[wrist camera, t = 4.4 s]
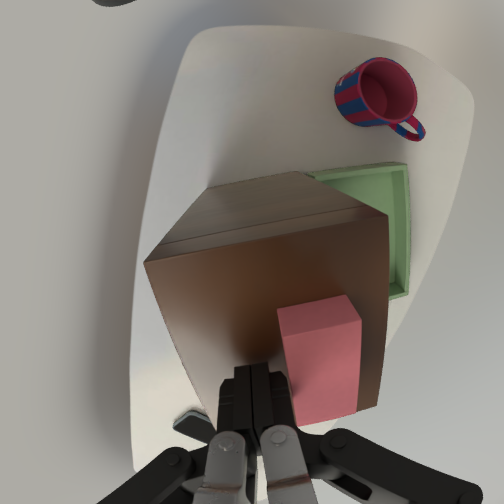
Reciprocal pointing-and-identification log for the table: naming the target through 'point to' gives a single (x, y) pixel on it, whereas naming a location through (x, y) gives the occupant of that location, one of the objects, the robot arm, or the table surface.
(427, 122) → the table surface
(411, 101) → the cup
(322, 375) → the eraser
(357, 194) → the tray
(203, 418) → the smartphone
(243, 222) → the walnut stand
